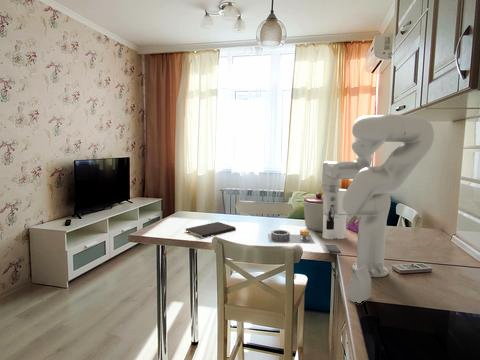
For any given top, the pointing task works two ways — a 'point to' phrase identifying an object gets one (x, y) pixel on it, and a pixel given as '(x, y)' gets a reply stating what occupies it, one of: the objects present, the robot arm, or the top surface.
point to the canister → (314, 212)
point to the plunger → (304, 233)
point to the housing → (287, 237)
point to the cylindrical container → (340, 218)
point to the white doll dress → (360, 285)
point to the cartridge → (326, 233)
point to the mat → (333, 248)
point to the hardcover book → (210, 229)
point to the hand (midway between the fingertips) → (328, 227)
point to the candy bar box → (352, 222)
